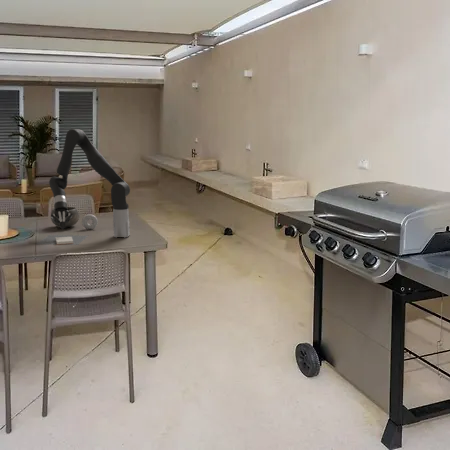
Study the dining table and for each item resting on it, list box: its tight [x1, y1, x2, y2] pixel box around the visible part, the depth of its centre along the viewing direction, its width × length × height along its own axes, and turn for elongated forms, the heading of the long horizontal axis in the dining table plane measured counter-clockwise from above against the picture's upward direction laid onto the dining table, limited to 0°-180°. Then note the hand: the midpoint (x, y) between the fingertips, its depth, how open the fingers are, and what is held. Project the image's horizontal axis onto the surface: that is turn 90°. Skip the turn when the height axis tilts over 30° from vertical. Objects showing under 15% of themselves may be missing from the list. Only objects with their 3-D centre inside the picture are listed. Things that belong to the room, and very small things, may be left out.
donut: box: [81, 213, 99, 230], centre depth 345 cm, size 10×4×10 cm, turn 103°
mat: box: [36, 234, 89, 246], centre depth 314 cm, size 24×24×1 cm
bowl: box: [50, 206, 80, 229], centre depth 352 cm, size 18×18×13 cm
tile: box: [56, 237, 73, 246], centre depth 308 cm, size 2×9×12 cm
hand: (63, 228), depth 313 cm, fingers closed
